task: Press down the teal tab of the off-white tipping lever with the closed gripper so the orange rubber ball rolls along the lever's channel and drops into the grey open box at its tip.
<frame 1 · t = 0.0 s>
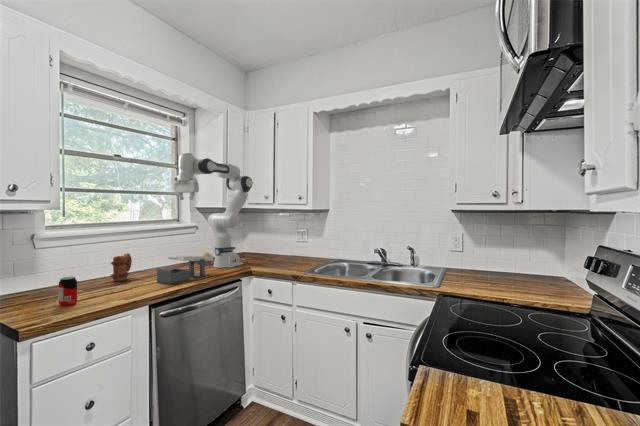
hand: (186, 199, 202), 48 cm above the worktop, tool pointing down, fingers open, 8 cm apart
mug: (122, 279, 187), on the worktop
ball: (206, 255, 202), point 12 cm above the worktop, tilted 6°, touching lever
stand: (196, 276, 196), on the worktop
grey open box: (173, 281, 182), on the worktop
lever: (191, 259, 197), point 10 cm above the worktop, hinge at -8.0°, touching ball
beverage can: (68, 305, 138), on the worktop
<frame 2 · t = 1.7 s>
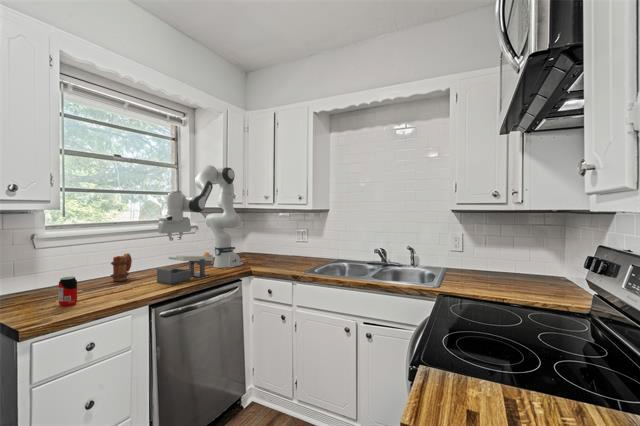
hand: (175, 240, 191), 23 cm above the worktop, tool pointing down, fingers open, 4 cm apart
nothing on the worktop moved.
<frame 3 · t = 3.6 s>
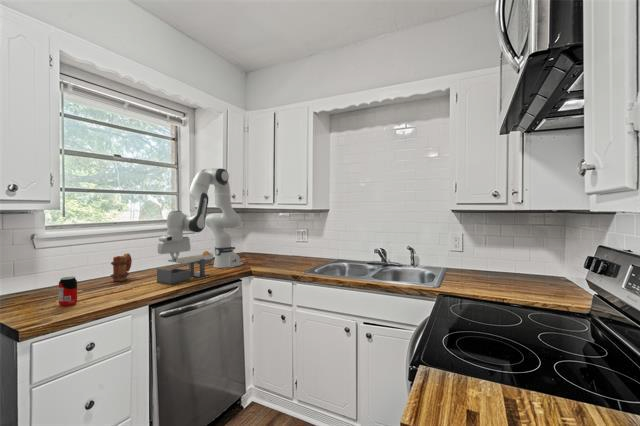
hand: (174, 259, 191), 11 cm above the worktop, tool pointing down, fingers closed, pressing on lever
ball: (206, 254, 202), point 13 cm above the worktop, touching lever
lever: (191, 259, 197), point 10 cm above the worktop, hinge at -0.2°, touching ball, gripper
everything else where it was.
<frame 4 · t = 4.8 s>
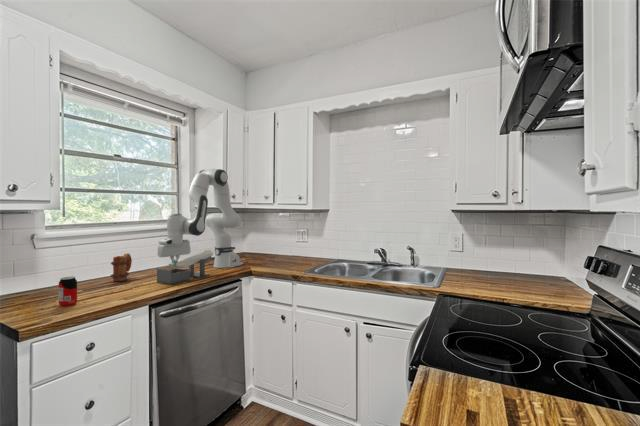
hand: (174, 263, 191), 9 cm above the worktop, tool pointing down, fingers closed
ball: (178, 275, 185), point 3 cm above the worktop, tilted 164°, touching grey open box
lever: (191, 259, 197), point 10 cm above the worktop, hinge at 12.5°, touching gripper
everything else where it was.
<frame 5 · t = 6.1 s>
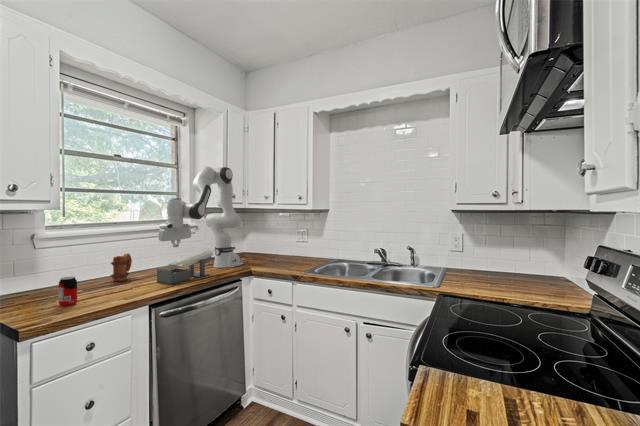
hand: (175, 247, 192), 19 cm above the worktop, tool pointing down, fingers closed
ball: (175, 275, 183), point 3 cm above the worktop, tilted 101°, touching grey open box
lever: (191, 259, 197), point 10 cm above the worktop, hinge at 12.5°
everything else where it was.
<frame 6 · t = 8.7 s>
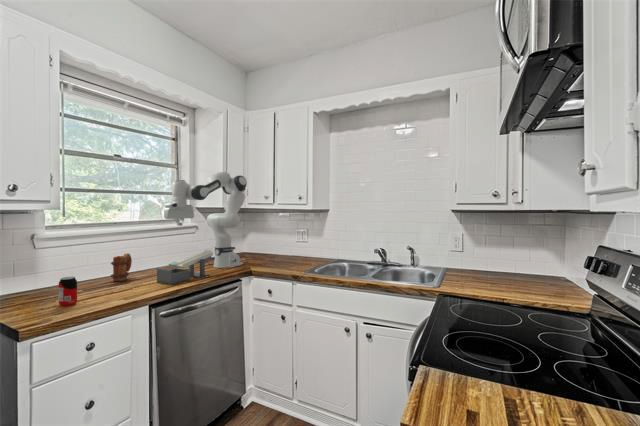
hand: (179, 225, 207), 31 cm above the worktop, tool pointing down, fingers closed
ball: (168, 277, 179), point 3 cm above the worktop, tilted 23°, touching grey open box
everything else where it was.
at the end: ball inside the target area on the grey open box (3.4 cm from its centre), point 3.0 cm above the grey open box's base; ball moved 28.2 cm from its start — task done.
